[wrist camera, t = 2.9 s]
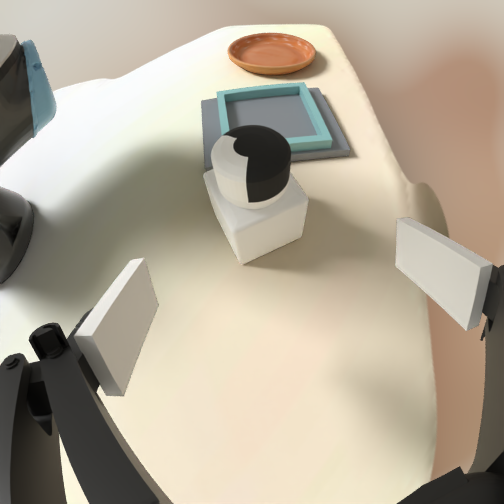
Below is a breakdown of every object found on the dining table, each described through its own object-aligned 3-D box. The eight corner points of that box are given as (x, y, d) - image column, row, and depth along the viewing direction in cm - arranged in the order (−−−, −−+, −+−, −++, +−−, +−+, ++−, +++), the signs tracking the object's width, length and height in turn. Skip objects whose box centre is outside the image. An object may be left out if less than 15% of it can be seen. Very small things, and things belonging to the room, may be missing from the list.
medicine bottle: (271, 188, 33) (270, 105, 22) (303, 237, 31) (318, 160, 20) (213, 212, 32) (189, 134, 22) (240, 266, 30) (223, 198, 19)
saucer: (317, 48, 48) (318, 37, 45) (310, 86, 42) (311, 71, 39) (242, 41, 51) (241, 30, 48) (217, 77, 44) (215, 64, 42)
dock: (206, 174, 35) (202, 159, 32) (202, 106, 41) (199, 93, 38) (348, 156, 35) (352, 141, 32) (317, 93, 41) (319, 80, 38)
